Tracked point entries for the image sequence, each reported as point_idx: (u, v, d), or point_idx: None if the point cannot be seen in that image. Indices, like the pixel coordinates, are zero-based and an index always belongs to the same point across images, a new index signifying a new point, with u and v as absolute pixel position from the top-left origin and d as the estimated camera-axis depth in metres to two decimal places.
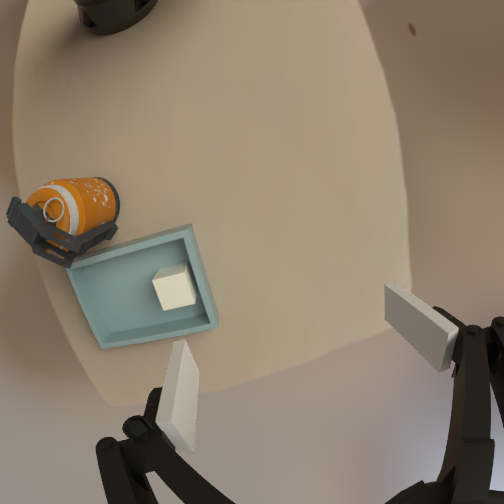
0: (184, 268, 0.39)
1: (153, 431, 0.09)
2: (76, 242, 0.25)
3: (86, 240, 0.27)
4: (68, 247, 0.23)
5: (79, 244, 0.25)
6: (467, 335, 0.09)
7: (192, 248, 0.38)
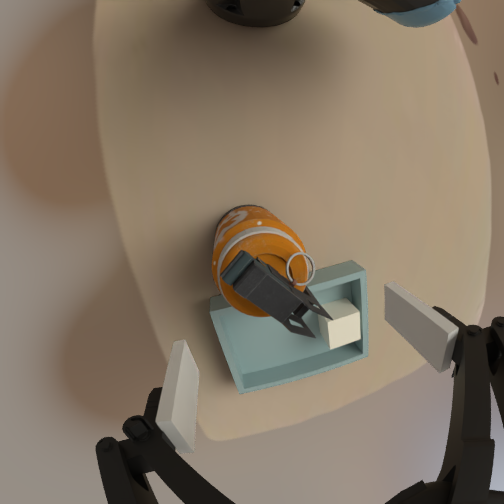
0: (353, 306, 0.38)
1: (153, 431, 0.09)
2: (319, 305, 0.23)
3: (315, 298, 0.25)
4: (327, 316, 0.22)
5: (322, 307, 0.24)
6: (467, 335, 0.09)
7: (365, 287, 0.37)
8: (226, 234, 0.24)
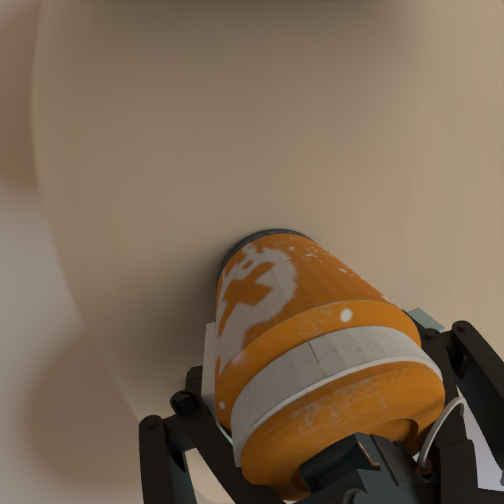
0: None
1: (200, 406, 0.10)
2: None
3: None
4: None
5: None
6: (423, 339, 0.10)
7: None
8: (253, 346, 0.08)
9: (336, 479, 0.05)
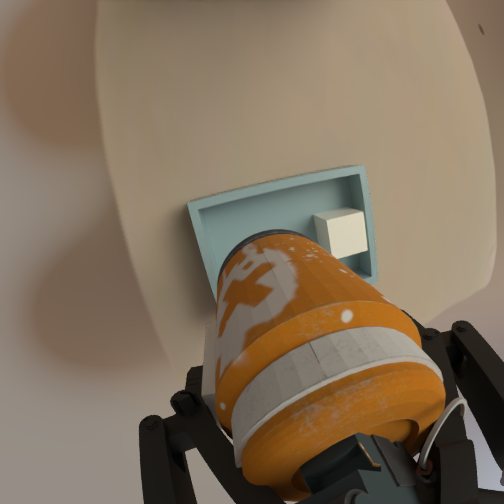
0: (355, 210, 0.33)
1: (200, 406, 0.10)
2: None
3: None
4: None
5: None
6: (423, 339, 0.10)
7: (367, 186, 0.32)
8: (254, 347, 0.08)
9: (337, 480, 0.05)
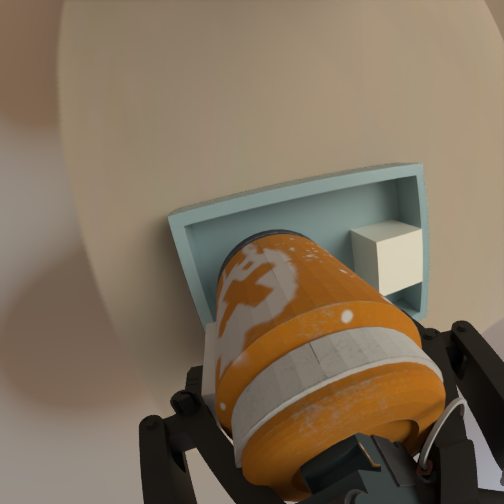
0: (408, 225, 0.22)
1: (200, 406, 0.10)
2: None
3: None
4: None
5: None
6: (423, 339, 0.10)
7: (424, 193, 0.21)
8: (254, 347, 0.08)
9: (337, 480, 0.05)
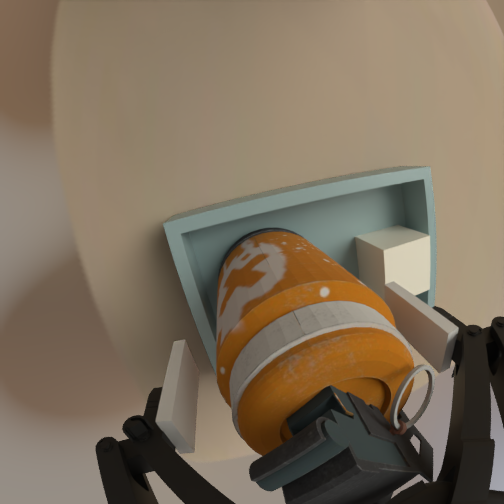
0: (415, 231, 0.21)
1: (153, 431, 0.09)
2: (414, 428, 0.10)
3: None
4: (431, 453, 0.08)
5: (415, 428, 0.10)
6: (467, 335, 0.09)
7: (432, 198, 0.20)
8: (249, 316, 0.10)
9: None
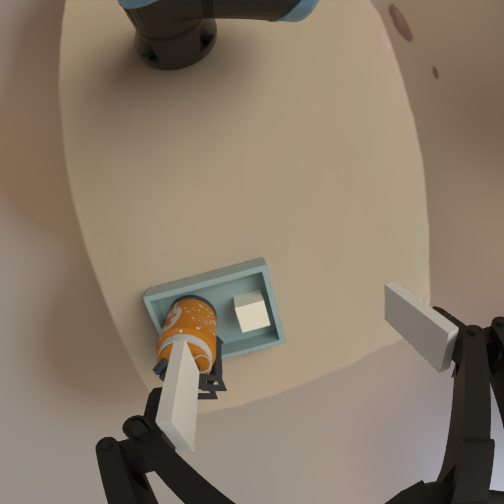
0: (260, 296, 0.47)
1: (153, 431, 0.09)
2: (219, 380, 0.36)
3: (221, 373, 0.38)
4: (220, 389, 0.34)
5: (222, 381, 0.36)
6: (467, 335, 0.09)
7: (269, 280, 0.46)
8: (162, 336, 0.37)
9: None
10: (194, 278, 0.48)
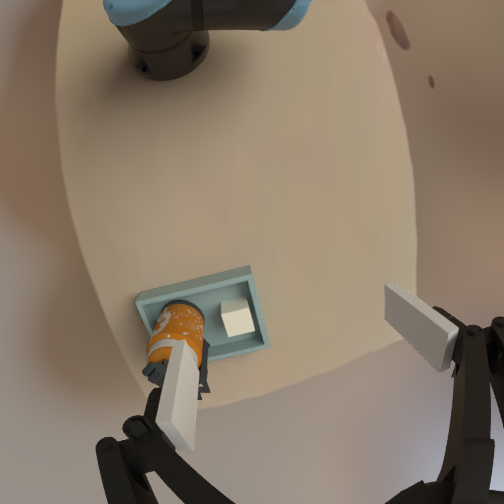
0: (246, 303, 0.49)
1: (153, 431, 0.09)
2: (204, 383, 0.38)
3: (206, 376, 0.40)
4: (204, 391, 0.36)
5: (206, 383, 0.38)
6: (467, 335, 0.09)
7: (254, 288, 0.48)
8: (152, 340, 0.39)
9: None
10: (183, 284, 0.49)
